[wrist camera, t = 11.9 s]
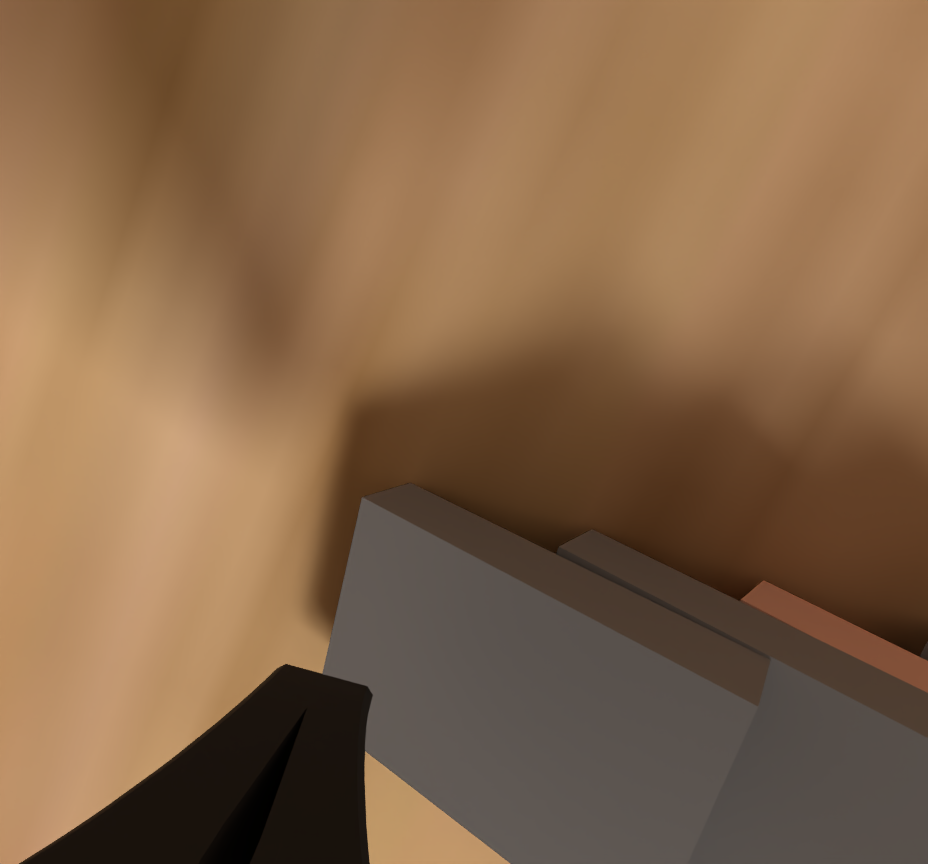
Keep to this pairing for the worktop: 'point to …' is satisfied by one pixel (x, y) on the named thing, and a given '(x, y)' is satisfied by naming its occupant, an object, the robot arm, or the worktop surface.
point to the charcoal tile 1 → (535, 689)
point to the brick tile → (839, 633)
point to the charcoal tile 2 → (798, 735)
